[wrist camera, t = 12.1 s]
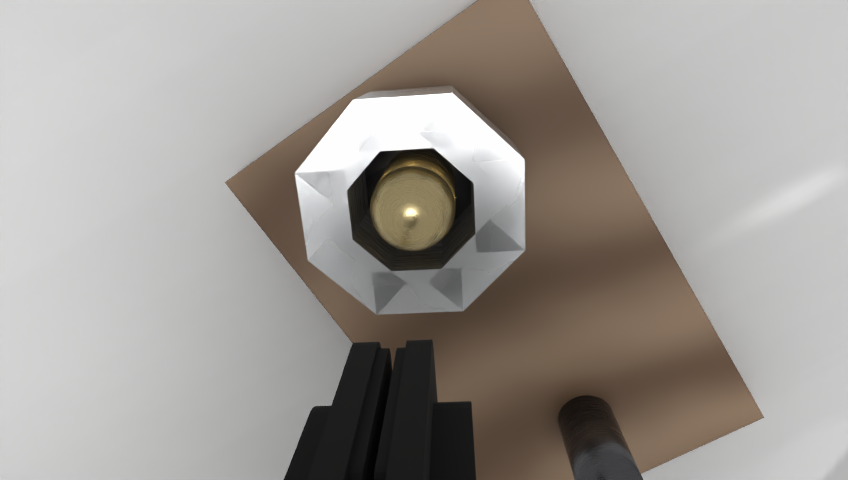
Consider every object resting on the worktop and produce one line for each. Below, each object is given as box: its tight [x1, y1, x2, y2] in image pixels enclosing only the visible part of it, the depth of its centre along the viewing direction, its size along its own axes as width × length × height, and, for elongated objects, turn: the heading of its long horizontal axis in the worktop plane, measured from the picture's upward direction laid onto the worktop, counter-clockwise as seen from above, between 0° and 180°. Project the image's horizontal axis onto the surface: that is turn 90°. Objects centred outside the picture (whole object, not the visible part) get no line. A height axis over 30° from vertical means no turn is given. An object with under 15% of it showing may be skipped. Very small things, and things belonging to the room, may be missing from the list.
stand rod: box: [558, 395, 643, 480], centre depth 22 cm, size 2×2×5 cm
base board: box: [225, 0, 764, 480], centre depth 23 cm, size 21×13×1 cm, turn 34°
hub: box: [365, 148, 471, 251], centre depth 18 cm, size 6×6×6 cm
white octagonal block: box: [295, 86, 525, 315], centre depth 18 cm, size 7×7×4 cm
